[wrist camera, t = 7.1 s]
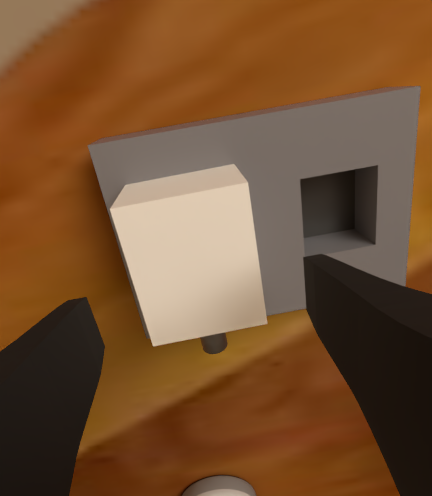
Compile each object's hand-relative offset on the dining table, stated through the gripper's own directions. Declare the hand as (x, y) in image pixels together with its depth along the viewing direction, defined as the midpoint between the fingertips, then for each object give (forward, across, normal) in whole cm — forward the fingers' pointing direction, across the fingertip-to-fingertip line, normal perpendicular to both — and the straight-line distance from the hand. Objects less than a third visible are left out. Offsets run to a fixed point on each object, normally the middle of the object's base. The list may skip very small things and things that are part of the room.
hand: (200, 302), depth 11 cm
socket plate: (+8, -3, 0) cm, 9 cm away
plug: (+7, 0, 0) cm, 7 cm away
